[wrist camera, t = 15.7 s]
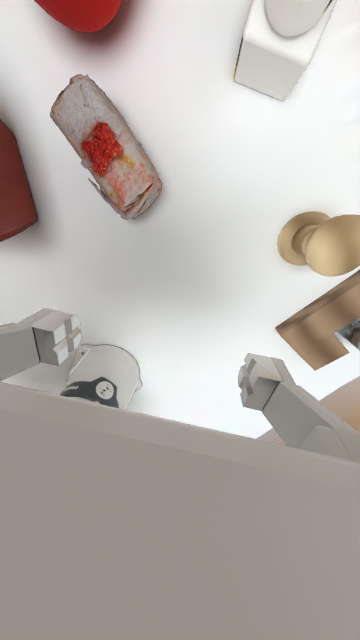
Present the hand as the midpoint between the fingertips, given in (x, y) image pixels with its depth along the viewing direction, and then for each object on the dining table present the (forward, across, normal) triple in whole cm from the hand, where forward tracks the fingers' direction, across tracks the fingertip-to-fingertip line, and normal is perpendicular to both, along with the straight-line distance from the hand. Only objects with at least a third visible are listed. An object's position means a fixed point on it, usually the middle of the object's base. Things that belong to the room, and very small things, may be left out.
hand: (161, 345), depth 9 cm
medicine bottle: (+29, -5, -24) cm, 38 cm away
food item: (+29, +13, -10) cm, 34 cm away
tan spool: (+29, -18, -6) cm, 34 cm away
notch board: (+29, -30, +6) cm, 42 cm away
